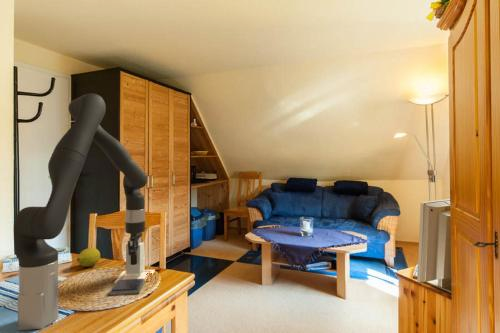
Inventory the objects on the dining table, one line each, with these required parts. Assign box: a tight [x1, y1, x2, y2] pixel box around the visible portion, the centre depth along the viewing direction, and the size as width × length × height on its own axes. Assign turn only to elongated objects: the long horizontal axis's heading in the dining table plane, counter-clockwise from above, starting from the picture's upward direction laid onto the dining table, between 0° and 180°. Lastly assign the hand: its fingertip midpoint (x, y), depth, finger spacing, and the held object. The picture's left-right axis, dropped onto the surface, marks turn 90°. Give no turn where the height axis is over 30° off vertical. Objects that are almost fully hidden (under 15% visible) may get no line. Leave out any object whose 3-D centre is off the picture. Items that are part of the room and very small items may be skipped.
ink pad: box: [108, 279, 146, 296], centre depth 107 cm, size 10×10×2 cm
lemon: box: [76, 247, 101, 268], centre depth 129 cm, size 11×8×8 cm
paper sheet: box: [113, 269, 156, 284], centre depth 118 cm, size 12×13×1 cm
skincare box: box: [125, 241, 146, 275], centre depth 118 cm, size 6×4×12 cm
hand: (135, 261), depth 118 cm, fingers closed on skincare box, 4 cm apart
